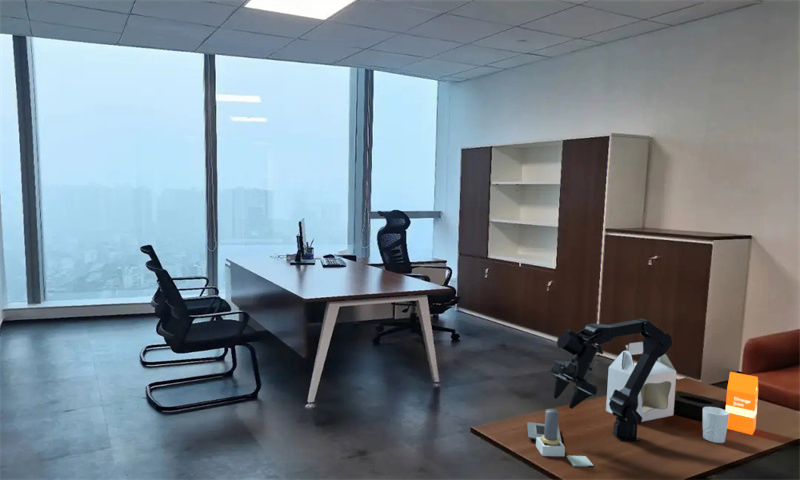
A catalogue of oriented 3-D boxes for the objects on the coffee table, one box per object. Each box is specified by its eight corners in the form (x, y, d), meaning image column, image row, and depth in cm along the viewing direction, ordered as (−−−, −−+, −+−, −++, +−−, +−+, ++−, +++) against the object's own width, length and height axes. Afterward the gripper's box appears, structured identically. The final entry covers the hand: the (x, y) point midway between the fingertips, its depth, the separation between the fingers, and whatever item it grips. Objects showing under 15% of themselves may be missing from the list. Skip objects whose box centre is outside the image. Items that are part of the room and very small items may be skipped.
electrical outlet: (561, 446, 179) (561, 439, 179) (528, 443, 181) (528, 435, 181) (557, 431, 192) (558, 424, 192) (527, 427, 194) (527, 421, 194)
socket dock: (557, 446, 178) (557, 437, 178) (564, 456, 171) (565, 447, 171) (535, 446, 178) (536, 437, 177) (542, 455, 171) (542, 446, 170)
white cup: (724, 436, 191) (726, 408, 191) (729, 445, 184) (731, 416, 183) (698, 433, 194) (700, 405, 193) (703, 441, 186) (705, 412, 186)
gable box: (645, 404, 222) (649, 335, 220) (674, 415, 210) (679, 343, 209) (605, 411, 212) (609, 339, 210) (633, 423, 200) (638, 348, 199)
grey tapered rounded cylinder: (555, 447, 177) (557, 408, 176) (561, 455, 172) (563, 414, 171) (538, 447, 177) (540, 407, 176) (543, 455, 171) (546, 414, 171)
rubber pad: (585, 457, 171) (585, 455, 171) (593, 466, 165) (593, 464, 165) (566, 457, 170) (566, 455, 170) (573, 466, 164) (573, 464, 164)
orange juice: (727, 422, 205) (731, 369, 204) (755, 428, 200) (759, 374, 198) (723, 428, 199) (727, 373, 198) (752, 435, 194) (756, 379, 192)
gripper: (549, 343, 188) (529, 384, 187) (580, 358, 170) (558, 404, 169) (574, 356, 191) (554, 397, 190) (607, 372, 173) (586, 417, 172)
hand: (562, 403), depth 180 cm, fingers open, 9 cm apart
